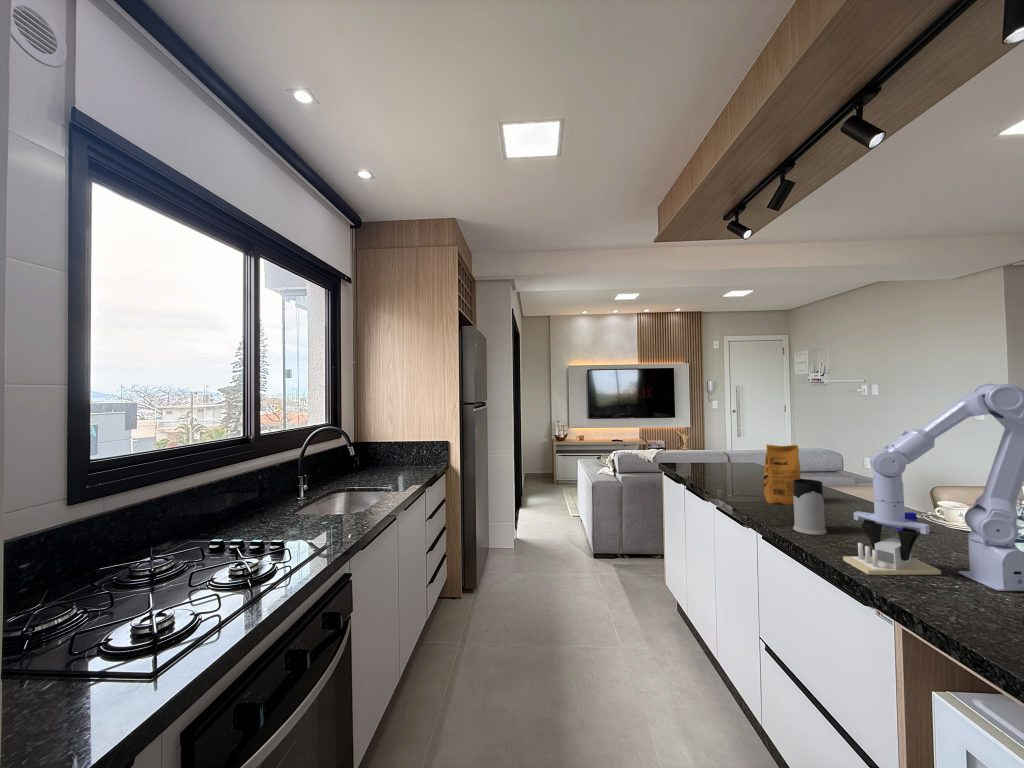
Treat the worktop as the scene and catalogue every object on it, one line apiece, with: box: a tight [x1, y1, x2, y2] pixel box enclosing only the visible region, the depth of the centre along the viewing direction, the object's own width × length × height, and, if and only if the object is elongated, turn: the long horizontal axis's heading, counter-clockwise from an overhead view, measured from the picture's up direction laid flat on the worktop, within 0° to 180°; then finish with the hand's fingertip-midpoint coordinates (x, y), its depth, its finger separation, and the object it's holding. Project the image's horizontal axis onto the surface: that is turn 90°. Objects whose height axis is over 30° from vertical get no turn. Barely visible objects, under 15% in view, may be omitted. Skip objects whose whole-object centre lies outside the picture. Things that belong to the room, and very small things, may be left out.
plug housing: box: [875, 537, 915, 570], centre depth 111 cm, size 4×14×5 cm, turn 119°
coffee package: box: [762, 443, 801, 506], centre depth 173 cm, size 10×12×22 cm
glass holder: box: [792, 478, 828, 536], centre depth 142 cm, size 9×14×15 cm, turn 167°
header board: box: [842, 542, 942, 576], centre depth 110 cm, size 9×16×5 cm, turn 86°
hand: (891, 556), depth 110 cm, fingers open, 5 cm apart
